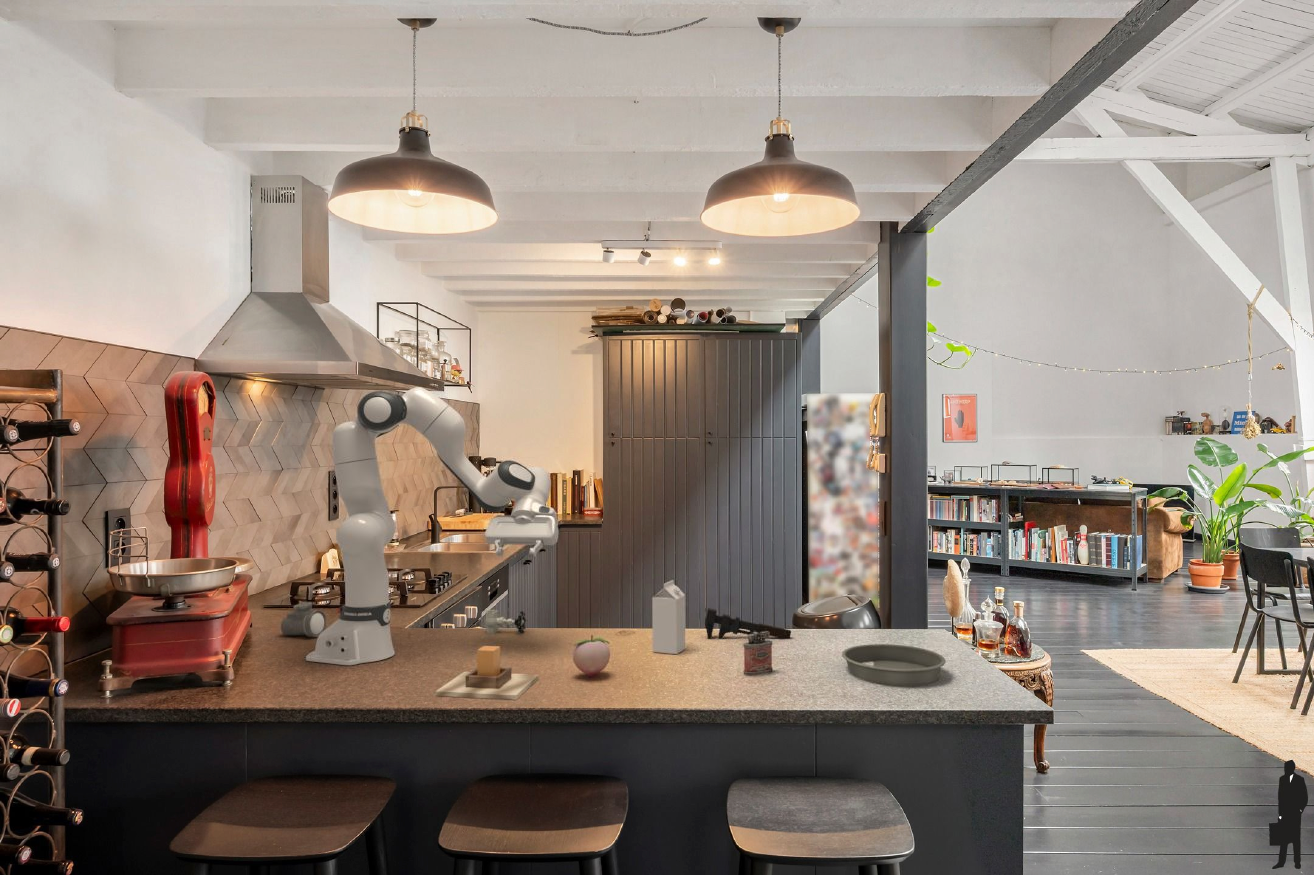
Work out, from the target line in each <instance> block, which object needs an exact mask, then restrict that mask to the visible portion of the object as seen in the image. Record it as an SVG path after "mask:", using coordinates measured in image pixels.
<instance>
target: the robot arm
mask: <svg viewBox="0 0 1314 875" xmlns="http://www.w3.org/2000/svg"><path fill="white" fill-rule="evenodd" d="M356 408H357V409H356V413H357V416H356V418H355V419H353V420H350V421H344V422H342V423H340V424H339V425H337V426H336V427H335V428H334V429H333V432H332V438H331V440H332V441H331V442H332V443H331V444H332V446H331V449H332V453H331V454H332V460H333V466H334V474H335V478H336V485H337V491H338V495H339V497H340V498H341V500H342V502H343V504H344V506H345V509H346V512H347V514H348V517H347V518H345V519H344V520H343V522H342V523H341V524H340V525H339V527H338V528H337V530H336V533H335V535H336V536H335V539H336V540H335V541H336V544H337V545H338V548H339V549H340V556H341V561H342V564H343V571H344V583H345V584H344V590H345V593H344V594H345V597H344V598H345V599H344V602H345V604H343V605H342V606H340V607H338V608H336V609H335V611H336V612H335V614H339V616H338V619H337V620H336V621H334V622H333V623H332V624H330V625H329V626H328V627H326V630H324V631H323V632H322V633H321V634H320V635H319V636H318V637H317V639H316V642H315V650H313V651H311V652H309V653H308V654H307V655H306V657H305V661H308V662H316V663H322V664H323V663H324V664H333V665H341V666H353V665H358V664H364V663H372V662H377V661H381V660H386V659H388V658H391V657H393V656H395V654H396V652H395V649H394V645H393V641H392V636H391V634H392V633H391V628H390V624H391V602H390V600H389V598H390V597H389V596H390V595H389V593H390V591H389V590H390V587H389V586H390V584H389V583H390V577H389V576H390V575H389V571H388V569H387V568H388V567H387V564H386V558H385V554H384V553H385V551H384V548H385V547H386V546H388V545H389V544H390V543H391V541H392V539H393V538H394V536H395V534H396V531H397V530H396V528H397V526H396V522H395V520H394V519H393V516H392V514H391V511H390V507H389V504H388V501H387V498H386V495H385V493H384V489H383V485H382V481H381V480H382V479H381V476H380V467H379V463H378V457H377V451H376V450H377V449H376V439H378V438H379V437H381V436H384V435H386V434H388V433H391V432H392V431H393V430H395V429H397V427H398V426H399V425H401V424H405V425H408V426H410V427H412V428H413V429H415V430H416V431H417V432H418V433H420V434H421V435H422V436H423V437H424V438H425V439H426V440H427V441H428V442H429V443H430V444H431V445H432V446H433V448H434V449H435V451H436V455H437V457H438V459H439V460H440V462H442V464H443V465H444V467H446V469H447V470H449V472H451V474H452V475H453V476H454V477H455V478H456V479H457V480H458V481H459V482H460V483H461V484H462V485H463V487H465V489H466V490H468V492H469V493H470V494H471V496H472V497H473V498H474V500H475V501H476V503H477V504H478V505H479V507H480V508H481V509H483V510H485V511H487V512H490V513H500V512H502V511H504V510H505V509H506V508H507V507H508V505H510V503H511V501H512V500H513V502H514V505H513V508H512V510H511V514H509V515H508V514H506V515H505V514H504V515H502V514H498V515H496V516H494V517H491V518H490V520H489V523H488V526H487V528H486V530H485V532H484V539H485V541H486V543H487V544H488V545H495V546H496V549H495V555H496V557H503V555H504V550H503V545H506V546H507V545H509V546H510V545H515V546H516V545H517V546H520V545H523V546H532V545H533V546H534V547H530V548H529V550H528V554H529V557H537V553H538V552H539V551H540V550H541V549H542V548H543V546H554V545H555V544H557V542H558V539H559V527H558V526H559V520H558V515H557V513H556V510H555V509H554V508H553V507H551V506H548V505H547V506H546V504H547V502H548V501H549V498H550V492H551V488H552V480H551V477H550V474H549V472H548V471H547V470H546V469H544V468H543V467H539V466H529V467H528V466H525V465H523V464H522V463H519V462H517V461H515V460H503V461H501V462H500V463H499V464H498V465H497V466H496V467H495V468H494V469H493V470H492V472H491V473H490V474H489V475H488V476H485V475H484V474H482V473H481V472H480V470H478V469H477V467H476V466H475V465H474V464H473V463H472V462H471V461H470V460H469V459H468V458H467V456H466V454H465V451H464V442H465V438H466V432H467V431H466V430H467V429H466V424H465V420H464V419H463V417H462V415H460V413H459V412H458V411H456V409H454V408H453V407H452V406H450V405H449V403H447V402H446V401H445V400H443V399H442V398H440V397H439V396H437V395H436V394H434V393H433V392H431V391H429V390H427V389H426V388H424V387H421V386H419V387H418V386H415V387H412V388H411V389H408V390H407V391H406V392H405V393H404V394H403V395H400V394H397V393H391V392H387V391H382V390H381V391H380V390H379V391H378V390H377V391H376V390H375V391H371V392H369V393H366V394H365V395H364V396H363V397H362V398H361V399H360V400H359V402H358V404H357V407H356Z"/></svg>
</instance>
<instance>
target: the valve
mask: <svg viewBox="0 0 1314 875" xmlns="http://www.w3.org/2000/svg"><path fill="white" fill-rule="evenodd" d="M519 612H520V613H519V614H520V615H518V617H517V618H515V619H513V618H505V616H500V617H499V610H498V609H489V610H486V611H485V617H486V618H485V622H484V625H485V627H486V628H485V629H486V630H485V631H486V634H497V633H499V627H500V628H504V627H505V626H506V625H507V626H513V625H514V626H516V628H517V630H518V633H520V634H524V632H525V630H526V628H527V626H526V622H527V618H526V616H527V614H526V612H525V611H523V610H521V611H519Z"/></svg>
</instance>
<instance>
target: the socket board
mask: <svg viewBox="0 0 1314 875" xmlns="http://www.w3.org/2000/svg"><path fill="white" fill-rule="evenodd" d="M539 676H540V675H539V674H529V673H528V674H527V673H512V667H501V666H500V675H498V676H497V677H496V676H477V668H475V669H473V670H472V671H463V672H462V673H461V674H459V675H457V676H456V677H454V678H453V679H451V680H450V681H448V682H447V683H446V684H444V685H443V686H441V687H440V688H438V689H437V690H436V691H435V697H451V698H453V697H454V698H455V697H456V698H471V699H472V698H475V699H491V700H492V699H493V700H494V699H495V700H511V701H512V700H514V701H515V700H516V701H517V699H518V698H520V697H521V696H522V695H523V694H524V693H525V692H526V691H527V690H528V689H529V688H530V687H532V686H533V684H535V683H536V682H537V681H538V680H539V679H540V677H539Z"/></svg>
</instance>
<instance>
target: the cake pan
mask: <svg viewBox="0 0 1314 875" xmlns="http://www.w3.org/2000/svg"><path fill="white" fill-rule="evenodd" d="M841 657H842V658H843V659H844V660H845V661H846V665H847V668H848V672H849V673H850V674H851V675H853V676H854V677H855V678H858V679H860V680H863V681H867V682H870V683H876V684H879V685H886V686H887V685H888V686H899V687H901V686H902V687H903V686H905V687H910V686H911V687H914V686H923V685H929V684H932V683H934V682H937V681H938V680H939V678H940V674H941V669H942V668H941V667H943V666H945V665H946V659H945V657H944V655H941V654H940V653H937V652H935V651H933V650H930V649H928V648H927V649H926V648H922V647H918V646H917V647H916V646H912V645H911V646H910V645H902V644H892V643H891V644H889V643H873V644H861V645H855V646H851V647H849V648H847V649H844V650H843V651H842V653H841ZM872 662H873V664H872V665H870V664H867V663H872ZM865 663H866V664H865Z"/></svg>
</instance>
